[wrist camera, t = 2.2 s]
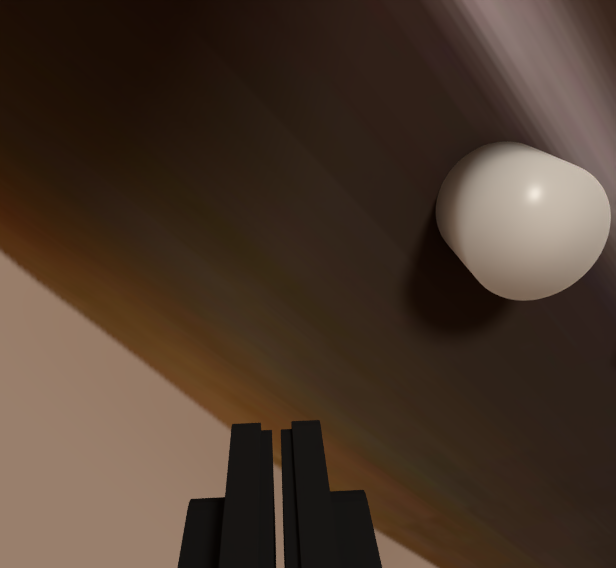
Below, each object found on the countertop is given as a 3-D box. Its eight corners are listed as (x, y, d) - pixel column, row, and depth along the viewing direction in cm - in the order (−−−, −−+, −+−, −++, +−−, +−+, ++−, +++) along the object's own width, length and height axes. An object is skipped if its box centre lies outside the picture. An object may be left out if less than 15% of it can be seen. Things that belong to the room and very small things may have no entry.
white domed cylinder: (443, 141, 25) (476, 161, 21) (569, 141, 25) (627, 161, 21) (429, 261, 27) (456, 301, 23) (544, 260, 27) (591, 299, 23)
